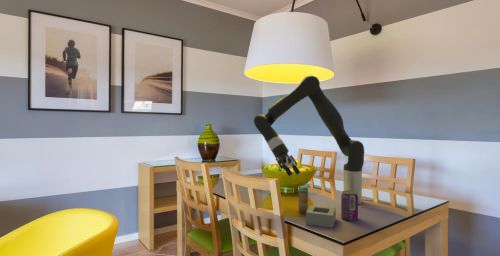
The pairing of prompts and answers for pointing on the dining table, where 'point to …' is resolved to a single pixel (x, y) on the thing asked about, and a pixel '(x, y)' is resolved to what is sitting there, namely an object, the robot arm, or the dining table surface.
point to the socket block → (321, 216)
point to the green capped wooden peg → (303, 199)
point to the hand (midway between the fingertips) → (294, 174)
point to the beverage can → (349, 205)
